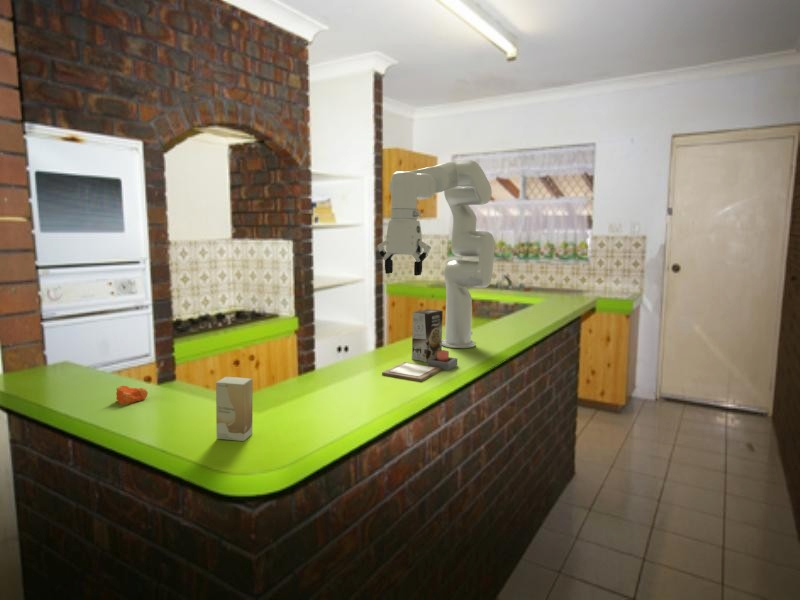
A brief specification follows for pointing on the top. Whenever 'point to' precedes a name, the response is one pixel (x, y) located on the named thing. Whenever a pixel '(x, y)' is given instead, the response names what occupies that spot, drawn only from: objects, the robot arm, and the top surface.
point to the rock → (130, 395)
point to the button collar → (443, 363)
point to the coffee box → (426, 334)
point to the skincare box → (234, 408)
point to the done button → (443, 355)
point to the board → (412, 371)
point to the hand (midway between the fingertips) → (403, 274)
